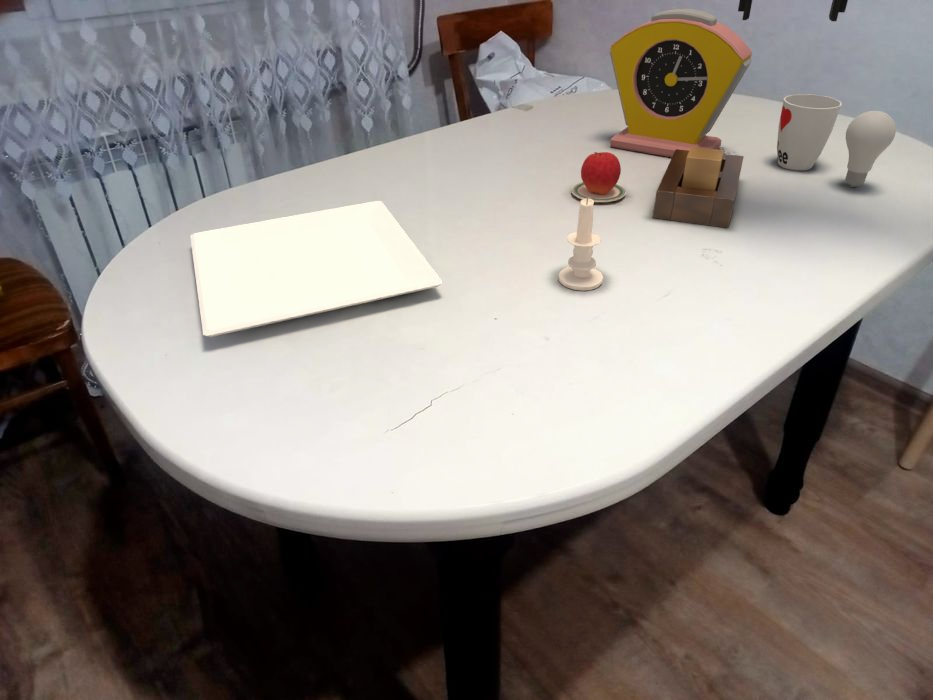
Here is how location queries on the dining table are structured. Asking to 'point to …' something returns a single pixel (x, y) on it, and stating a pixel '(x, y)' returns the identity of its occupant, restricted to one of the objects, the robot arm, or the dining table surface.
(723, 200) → the holder
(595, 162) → the apple
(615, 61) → the yellow clock scale
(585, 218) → the candle
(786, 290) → the dining table surface
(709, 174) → the peg
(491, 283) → the dining table surface
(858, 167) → the lightbulb
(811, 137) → the cup
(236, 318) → the plate
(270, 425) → the dining table surface
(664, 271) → the dining table surface
